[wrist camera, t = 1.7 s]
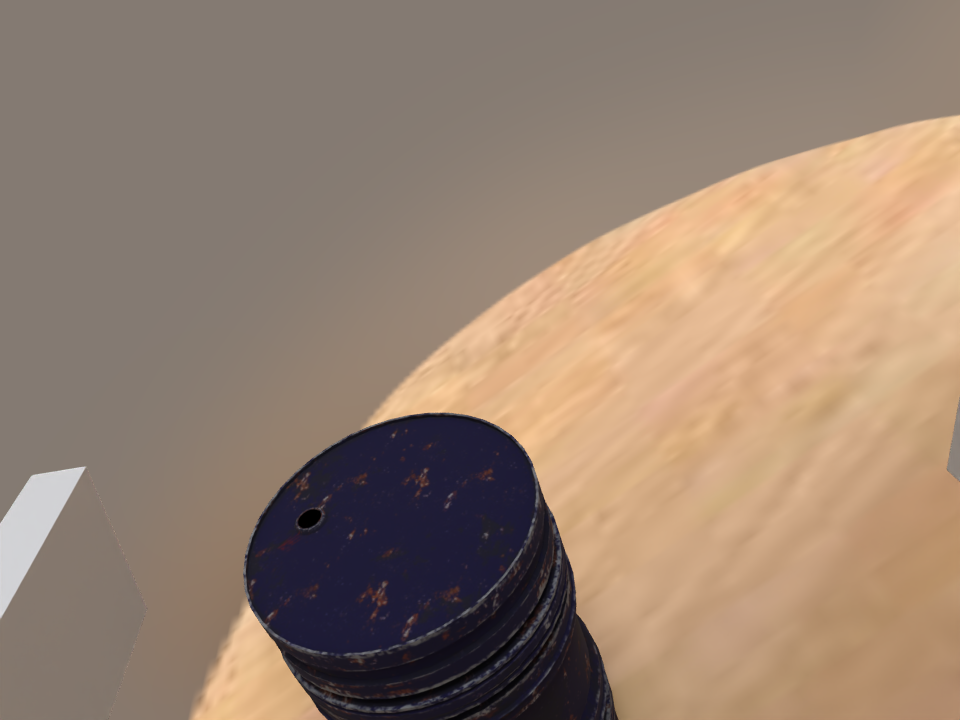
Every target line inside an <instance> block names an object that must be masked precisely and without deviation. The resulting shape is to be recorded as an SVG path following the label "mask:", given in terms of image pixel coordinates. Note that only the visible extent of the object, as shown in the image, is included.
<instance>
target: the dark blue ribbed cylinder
mask: <svg viewBox="0 0 960 720" xmlns="http://www.w3.org/2000/svg"><path fill="white" fill-rule="evenodd" d="M243 575H244V585H245V592H246V595H247V598H248V601H249V604H250V607H251V609H252V611H253V612H254V614H255V616H256V617H257V619H258V620H259V622H260V623H261V625H262V626H263V628H264V629H265V630H266V632H267V633H268V634H269V636H270V637H271V638H272V639H273V640H274V641H275V643H276V644H277V646H278V648H279V649H280V651H281V653H282V656H283V659H284V661H285V662H286V664H287V665H288V667H289V669H290V670H291V672H292V673H293V675H294V676H295V678H296V679H297V680H298V682H299V683H300V684H301V686H302V687H303V688H304V690H305V691H306V693H307V694H308V695H309V696H310V697H311V699H312V700H313V702H314V703H315V705H316V707H317V708H318V710H319V711H320V712H321V713H322V714H323V715H324V716H325V717H326V718H327V719H328V720H618V718H617V715H616V712H615V708H614V702H613V695H612V691H611V688H610V685H609V682H608V679H607V676H606V673H605V669H604V664H603V661H602V658H601V655H600V652H599V649H598V647H597V645H596V643H595V642H594V640H593V638H592V636H591V635H590V633H589V631H588V629H587V627H586V626H585V624H584V622H583V621H582V620H581V619H580V617H579V616H578V615H577V614H576V596H575V595H576V590H575V582H574V575H573V571H572V568H571V565H570V562H569V559H568V556H567V554H566V552H565V549H564V546H563V543H562V540H561V537H560V534H559V531H558V528H557V525H556V522H555V519H554V516H553V514H552V512H551V511H550V509H549V507H548V506H547V504H546V502H545V499H544V496H543V494H542V491H541V488H540V485H539V482H538V479H537V476H536V473H535V470H534V467H533V464H532V461H531V459H530V458H529V456H528V454H527V453H526V451H525V449H524V448H523V447H522V446H521V445H520V444H519V442H518V441H517V440H516V439H515V438H514V437H513V436H512V435H510V434H509V433H507V432H506V431H504V430H503V429H502V428H500V427H499V426H496V425H494V424H492V423H490V422H488V421H485V420H483V419H479V418H475V417H472V416H468V415H462V414H454V413H424V414H415V415H408V416H404V417H399V418H395V419H390V420H387V421H384V422H381V423H378V424H375V425H372V426H369V427H367V428H364V429H362V430H360V431H358V432H355V433H353V434H351V435H349V436H347V437H345V438H343V439H342V440H340V441H338V442H336V443H334V444H333V445H331V446H329V447H328V448H327V449H325V450H324V451H322V452H321V453H319V454H318V455H316V456H315V457H313V458H312V459H311V460H310V461H309V462H307V463H306V464H305V465H304V466H302V467H301V468H300V469H299V470H298V471H297V472H296V473H295V474H294V475H293V476H292V477H291V478H290V479H289V480H288V481H287V482H286V483H285V484H284V485H283V486H282V487H281V488H280V490H279V491H278V492H277V493H276V494H275V496H274V497H273V498H272V499H271V501H270V502H269V503H268V505H267V506H266V508H265V510H264V511H263V513H262V515H261V516H260V518H259V519H258V522H257V524H256V526H255V528H254V530H253V533H252V535H251V537H250V541H249V544H248V548H247V551H246V554H245V562H244V572H243Z"/></svg>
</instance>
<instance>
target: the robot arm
mask: <svg viewBox="0 0 960 720" xmlns="http://www.w3.org/2000/svg"><path fill="white" fill-rule="evenodd" d="M947 470H948V471H949V472H950V473H951V474H952V475H953V476H954V477H955V478H956V479H957V480H958V481H959V482H960V398H959V404H958V409H957V415H956V421H955V426H954V432H953V438H952V443H951V449H950V454H949V460H948V466H947ZM146 611H147V606H146V604H145V602H144V599H143V597H142V595H141V592H140V590H139V588H138V585H137V583H136V581H135V578H134V576H133V574H132V572H131V569H130V567H129V564H128V562H127V560H126V557H125V555H124V553H123V551H122V548H121V546H120V544H119V541H118V539H117V537H116V534H115V532H114V530H113V527H112V525H111V523H110V521H109V518H108V516H107V513H106V511H105V509H104V506H103V504H102V502H101V499H100V497H99V495H98V493H97V490H96V488H95V486H94V483H93V481H92V479H91V476H90V474H89V472H88V469H87V467H86V466H85V467H79V468H73V469H67V470H61V471H55V472H49V473H43V474H37V475H32V476H31V478H30V479H29V480H28V482H27V484H26V485H25V487H24V488H23V490H22V491H21V493H20V494H19V496H18V497H17V499H16V501H15V502H14V503H13V505H12V507H11V508H10V510H9V511H8V513H7V514H6V516H5V517H4V519H3V521H2V522H1V523H0V720H109V717H110V714H111V712H112V709H113V706H114V703H115V700H116V697H117V694H118V692H119V689H120V686H121V683H122V680H123V677H124V674H125V671H126V669H127V666H128V663H129V660H130V657H131V654H132V651H133V649H134V646H135V643H136V640H137V637H138V634H139V631H140V628H141V626H142V623H143V620H144V617H145V614H146Z"/></svg>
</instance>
